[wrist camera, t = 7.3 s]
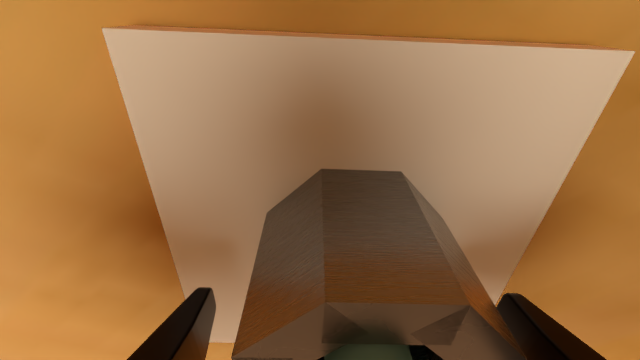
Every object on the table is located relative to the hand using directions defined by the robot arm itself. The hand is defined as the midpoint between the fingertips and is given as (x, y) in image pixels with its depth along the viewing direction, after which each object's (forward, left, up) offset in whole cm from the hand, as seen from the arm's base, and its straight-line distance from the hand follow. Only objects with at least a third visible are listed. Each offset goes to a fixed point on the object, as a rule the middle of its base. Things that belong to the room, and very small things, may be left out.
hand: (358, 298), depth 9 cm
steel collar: (0, 0, -3) cm, 3 cm away
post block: (0, 0, -4) cm, 4 cm away
